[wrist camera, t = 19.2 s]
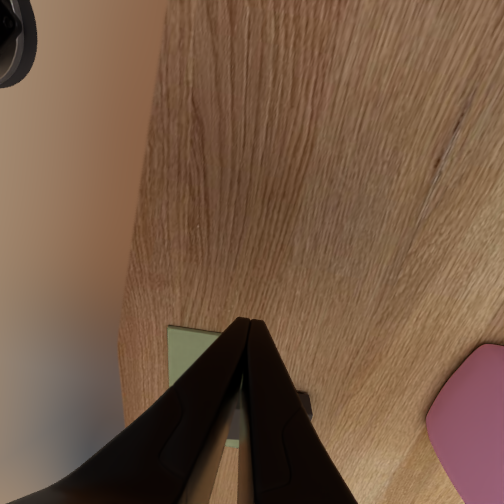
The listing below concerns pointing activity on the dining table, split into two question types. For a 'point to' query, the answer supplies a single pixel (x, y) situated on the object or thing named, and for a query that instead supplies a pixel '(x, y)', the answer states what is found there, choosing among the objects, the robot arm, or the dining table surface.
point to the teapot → (472, 426)
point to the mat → (188, 354)
